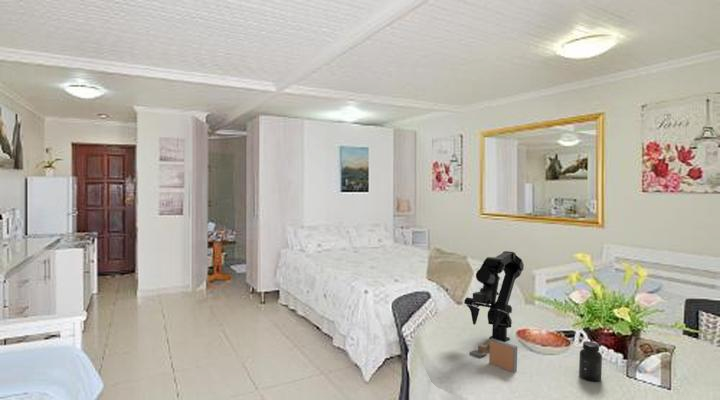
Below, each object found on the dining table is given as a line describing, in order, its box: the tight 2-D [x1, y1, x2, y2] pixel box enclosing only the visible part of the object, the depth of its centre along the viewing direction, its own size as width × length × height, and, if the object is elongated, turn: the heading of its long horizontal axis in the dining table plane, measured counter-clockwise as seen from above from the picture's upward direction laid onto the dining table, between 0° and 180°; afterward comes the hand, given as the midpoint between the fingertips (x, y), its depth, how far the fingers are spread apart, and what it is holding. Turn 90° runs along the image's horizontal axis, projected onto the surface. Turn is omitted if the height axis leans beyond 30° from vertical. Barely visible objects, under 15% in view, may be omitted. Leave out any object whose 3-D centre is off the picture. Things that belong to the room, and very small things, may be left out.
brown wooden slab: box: [469, 340, 490, 359], centre depth 166 cm, size 13×5×3 cm, turn 130°
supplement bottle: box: [578, 340, 603, 383], centre depth 145 cm, size 7×7×12 cm
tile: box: [488, 338, 518, 373], centre depth 153 cm, size 2×10×9 cm, turn 40°
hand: (483, 326), depth 166 cm, fingers open, 9 cm apart
